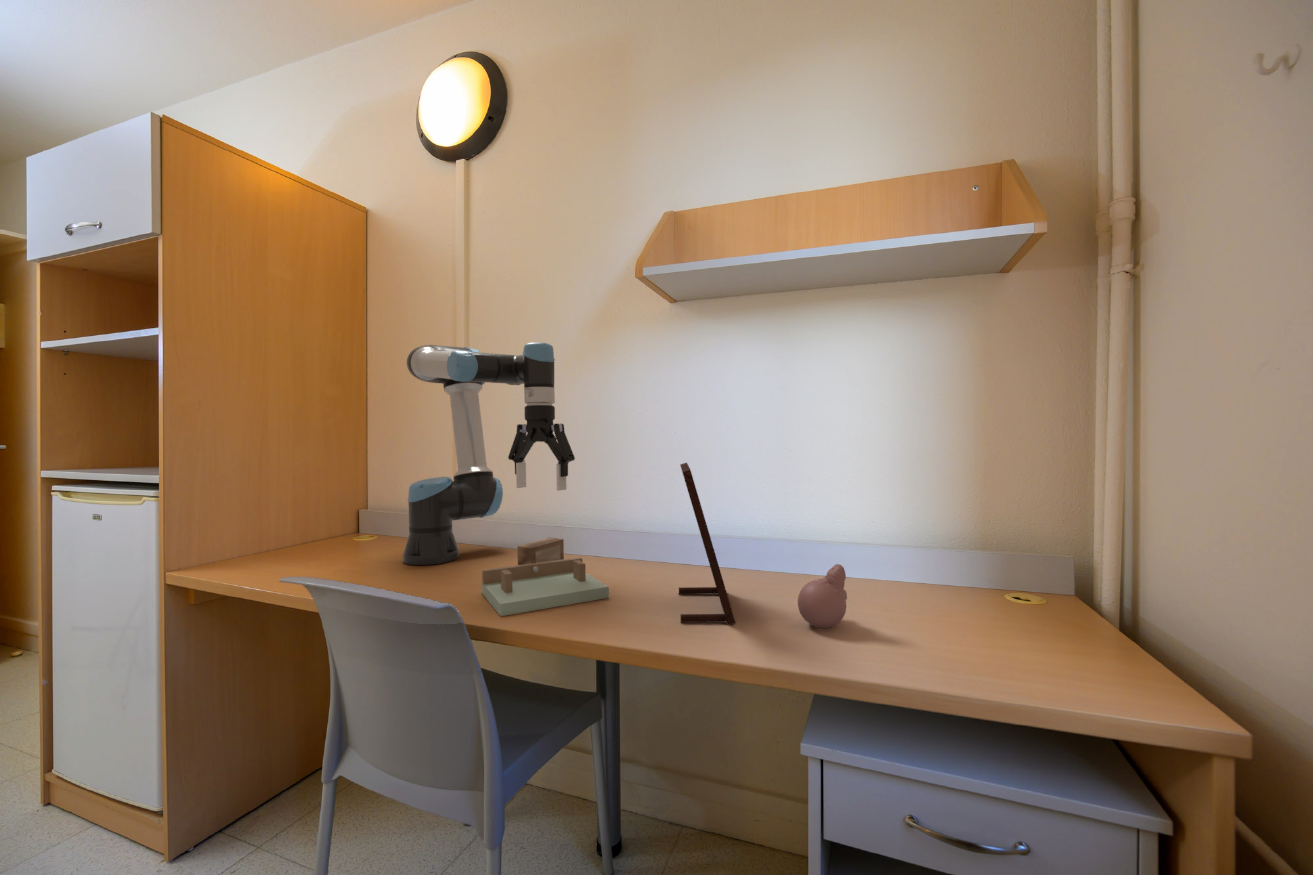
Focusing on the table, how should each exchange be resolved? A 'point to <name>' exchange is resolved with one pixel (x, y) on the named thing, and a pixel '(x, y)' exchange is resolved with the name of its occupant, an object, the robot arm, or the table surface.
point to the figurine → (824, 599)
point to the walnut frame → (541, 551)
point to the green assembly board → (540, 586)
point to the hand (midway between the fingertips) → (541, 488)
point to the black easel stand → (712, 560)
